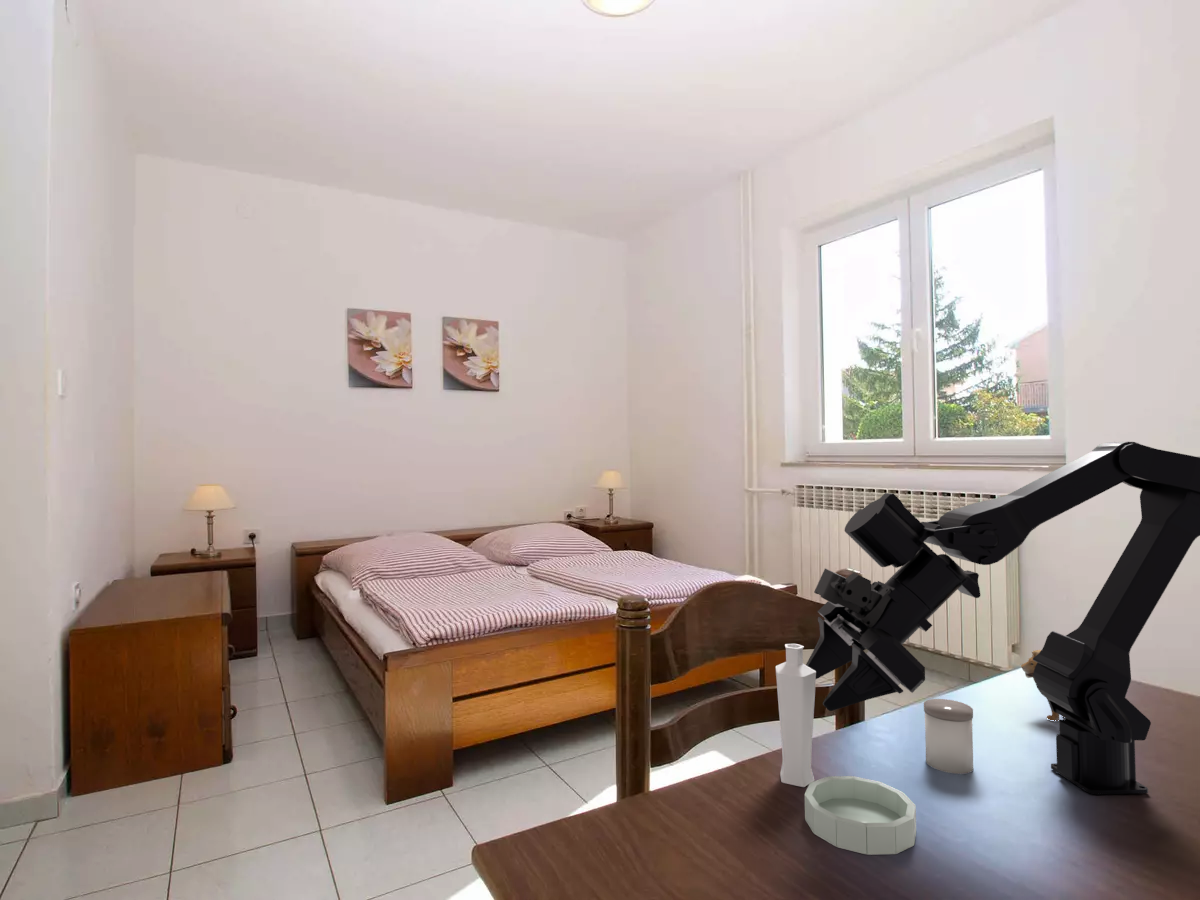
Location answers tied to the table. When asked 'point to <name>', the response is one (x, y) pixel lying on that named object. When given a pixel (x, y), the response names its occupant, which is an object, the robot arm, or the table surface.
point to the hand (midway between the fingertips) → (813, 693)
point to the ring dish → (860, 815)
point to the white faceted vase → (796, 716)
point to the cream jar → (949, 736)
